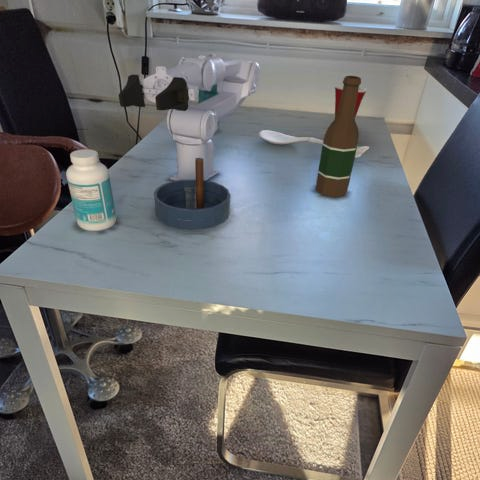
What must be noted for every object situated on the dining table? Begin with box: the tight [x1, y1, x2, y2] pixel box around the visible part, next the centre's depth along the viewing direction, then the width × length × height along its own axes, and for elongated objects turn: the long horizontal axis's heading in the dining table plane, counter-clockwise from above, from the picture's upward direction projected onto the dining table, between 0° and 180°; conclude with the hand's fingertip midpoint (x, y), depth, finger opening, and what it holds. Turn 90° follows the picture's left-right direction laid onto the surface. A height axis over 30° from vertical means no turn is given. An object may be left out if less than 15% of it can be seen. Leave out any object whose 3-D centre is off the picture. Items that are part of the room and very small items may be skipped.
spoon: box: [258, 129, 370, 159], centre depth 122 cm, size 9×32×4 cm, turn 60°
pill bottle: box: [65, 148, 117, 232], centre depth 79 cm, size 8×7×14 cm
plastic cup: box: [334, 84, 368, 118], centre depth 142 cm, size 11×11×12 cm
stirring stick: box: [195, 158, 204, 208], centre depth 87 cm, size 2×2×10 cm
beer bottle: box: [315, 75, 362, 199], centre depth 93 cm, size 8×8×24 cm
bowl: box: [153, 179, 232, 231], centre depth 87 cm, size 15×15×4 cm
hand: (139, 102), depth 76 cm, fingers open, 7 cm apart
